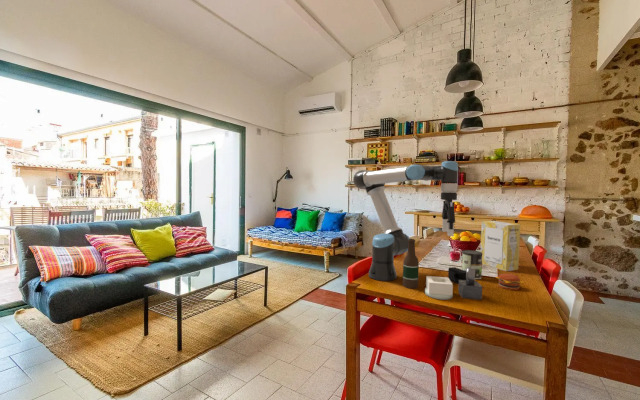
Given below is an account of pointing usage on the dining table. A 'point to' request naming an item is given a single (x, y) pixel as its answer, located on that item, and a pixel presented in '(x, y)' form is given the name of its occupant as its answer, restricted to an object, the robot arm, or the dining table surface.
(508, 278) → the hamburger
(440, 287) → the white square open box
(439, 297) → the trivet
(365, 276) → the dining table surface
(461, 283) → the post stand
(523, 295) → the dining table surface
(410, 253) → the beer bottle
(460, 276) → the digital camera
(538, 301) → the dining table surface
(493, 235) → the pasta box
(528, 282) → the dining table surface
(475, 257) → the coffee can
